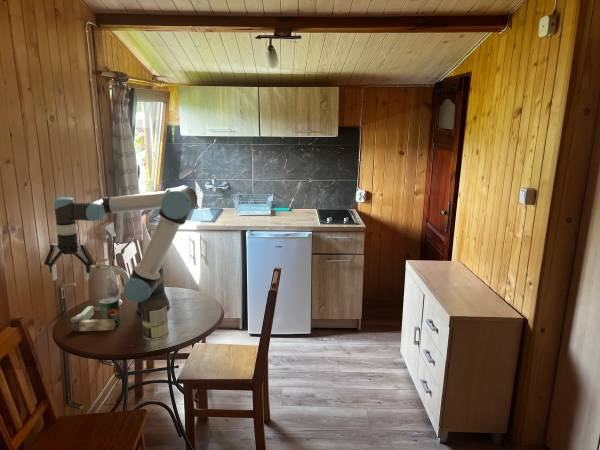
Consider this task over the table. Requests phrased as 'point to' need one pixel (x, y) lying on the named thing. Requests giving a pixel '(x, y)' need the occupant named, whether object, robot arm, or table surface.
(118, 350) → the table surface
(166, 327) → the coffee can
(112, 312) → the canned tomato
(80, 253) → the robot arm
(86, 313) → the tongs jaw
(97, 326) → the tongs fixed arm
